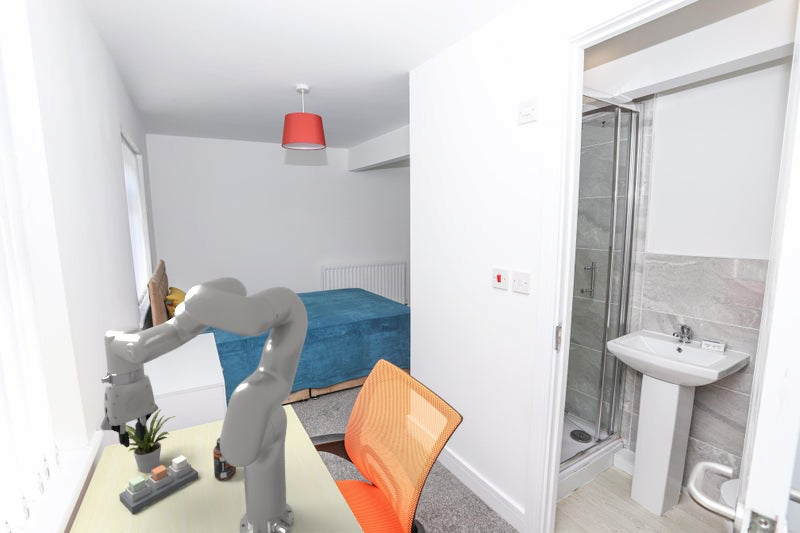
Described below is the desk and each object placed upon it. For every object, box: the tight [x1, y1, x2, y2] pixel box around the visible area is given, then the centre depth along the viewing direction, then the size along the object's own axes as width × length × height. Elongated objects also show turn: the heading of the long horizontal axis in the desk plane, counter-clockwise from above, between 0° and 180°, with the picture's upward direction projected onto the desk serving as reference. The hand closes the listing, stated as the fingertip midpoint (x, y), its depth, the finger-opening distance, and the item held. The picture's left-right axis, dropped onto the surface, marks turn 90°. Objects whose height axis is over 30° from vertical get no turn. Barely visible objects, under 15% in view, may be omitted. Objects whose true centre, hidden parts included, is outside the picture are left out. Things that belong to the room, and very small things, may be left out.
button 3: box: [171, 454, 188, 471], centre depth 114 cm, size 3×3×2 cm
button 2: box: [150, 464, 168, 482], centre depth 110 cm, size 3×3×2 cm
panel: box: [118, 461, 199, 515], centre depth 110 cm, size 8×17×4 cm, turn 145°
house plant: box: [126, 409, 176, 474], centre depth 120 cm, size 14×14×16 cm
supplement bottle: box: [212, 437, 237, 481], centre depth 116 cm, size 6×6×11 cm
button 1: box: [128, 475, 146, 493], centre depth 106 cm, size 3×3×2 cm
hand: (133, 441), depth 104 cm, fingers open, 2 cm apart
